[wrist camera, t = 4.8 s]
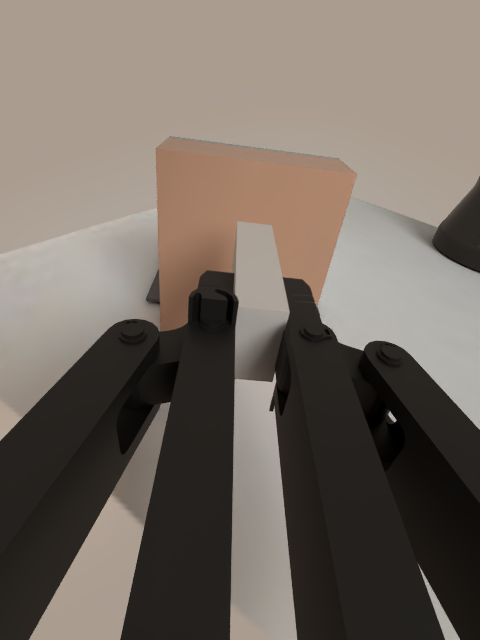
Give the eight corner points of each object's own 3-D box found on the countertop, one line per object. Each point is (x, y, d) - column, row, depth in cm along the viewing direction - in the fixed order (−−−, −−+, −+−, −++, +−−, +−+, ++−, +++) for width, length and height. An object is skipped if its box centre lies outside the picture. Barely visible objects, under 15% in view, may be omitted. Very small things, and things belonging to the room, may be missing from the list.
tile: (170, 307, 26) (170, 136, 19) (295, 319, 27) (338, 158, 20) (160, 339, 23) (155, 148, 16) (302, 352, 24) (357, 174, 17)
